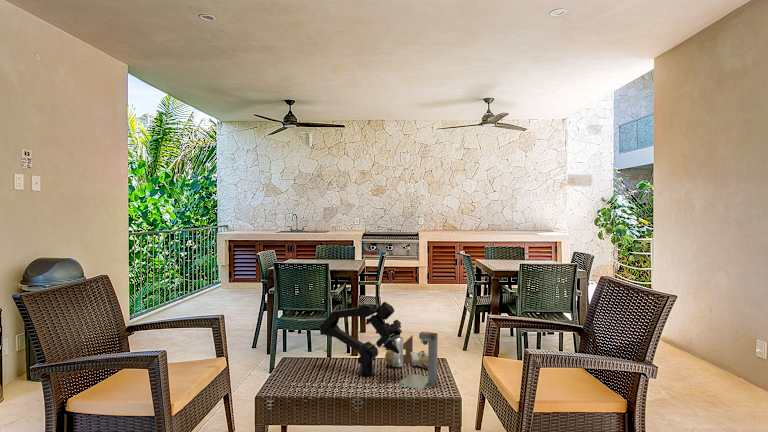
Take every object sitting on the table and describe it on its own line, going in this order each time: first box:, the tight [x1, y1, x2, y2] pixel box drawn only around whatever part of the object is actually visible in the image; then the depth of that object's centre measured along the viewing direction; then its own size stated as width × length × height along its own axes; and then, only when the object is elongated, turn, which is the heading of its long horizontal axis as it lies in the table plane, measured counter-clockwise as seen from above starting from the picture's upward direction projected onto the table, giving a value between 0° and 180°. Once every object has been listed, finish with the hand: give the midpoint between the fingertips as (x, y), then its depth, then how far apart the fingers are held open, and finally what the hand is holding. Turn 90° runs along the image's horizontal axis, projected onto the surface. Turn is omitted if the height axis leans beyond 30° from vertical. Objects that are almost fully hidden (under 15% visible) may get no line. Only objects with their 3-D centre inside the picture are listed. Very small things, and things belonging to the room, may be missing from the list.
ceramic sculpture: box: [410, 350, 441, 370], centre depth 234 cm, size 11×9×15 cm
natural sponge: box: [384, 349, 396, 368], centre depth 234 cm, size 9×9×10 cm
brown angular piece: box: [399, 328, 414, 364], centre depth 243 cm, size 4×11×18 cm, turn 82°
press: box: [398, 331, 438, 390], centre depth 208 cm, size 16×19×23 cm
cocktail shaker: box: [392, 334, 404, 368], centre depth 214 cm, size 5×5×14 cm
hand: (400, 351), depth 214 cm, fingers closed on cocktail shaker, 5 cm apart
